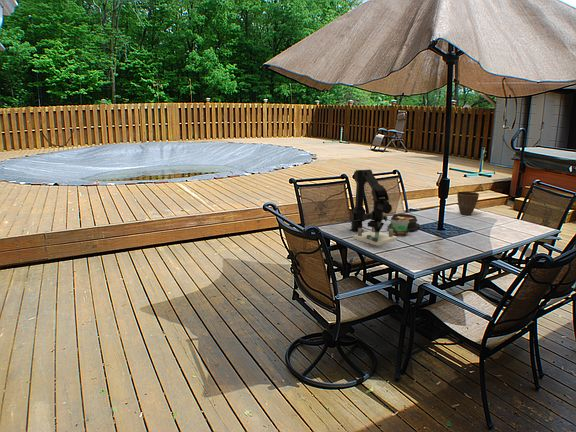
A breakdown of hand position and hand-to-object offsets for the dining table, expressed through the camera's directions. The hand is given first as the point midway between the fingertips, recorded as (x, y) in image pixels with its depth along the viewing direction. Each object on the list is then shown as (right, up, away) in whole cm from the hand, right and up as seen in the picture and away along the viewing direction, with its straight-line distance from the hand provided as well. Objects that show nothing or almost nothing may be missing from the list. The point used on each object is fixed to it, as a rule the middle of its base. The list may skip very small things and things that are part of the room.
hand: (376, 235), depth 253 cm
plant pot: (+80, +12, +67) cm, 105 cm away
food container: (+18, -1, +15) cm, 24 cm away
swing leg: (-2, -2, 0) cm, 3 cm away
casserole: (+24, +3, +30) cm, 38 cm away
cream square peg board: (0, -3, +7) cm, 8 cm away
